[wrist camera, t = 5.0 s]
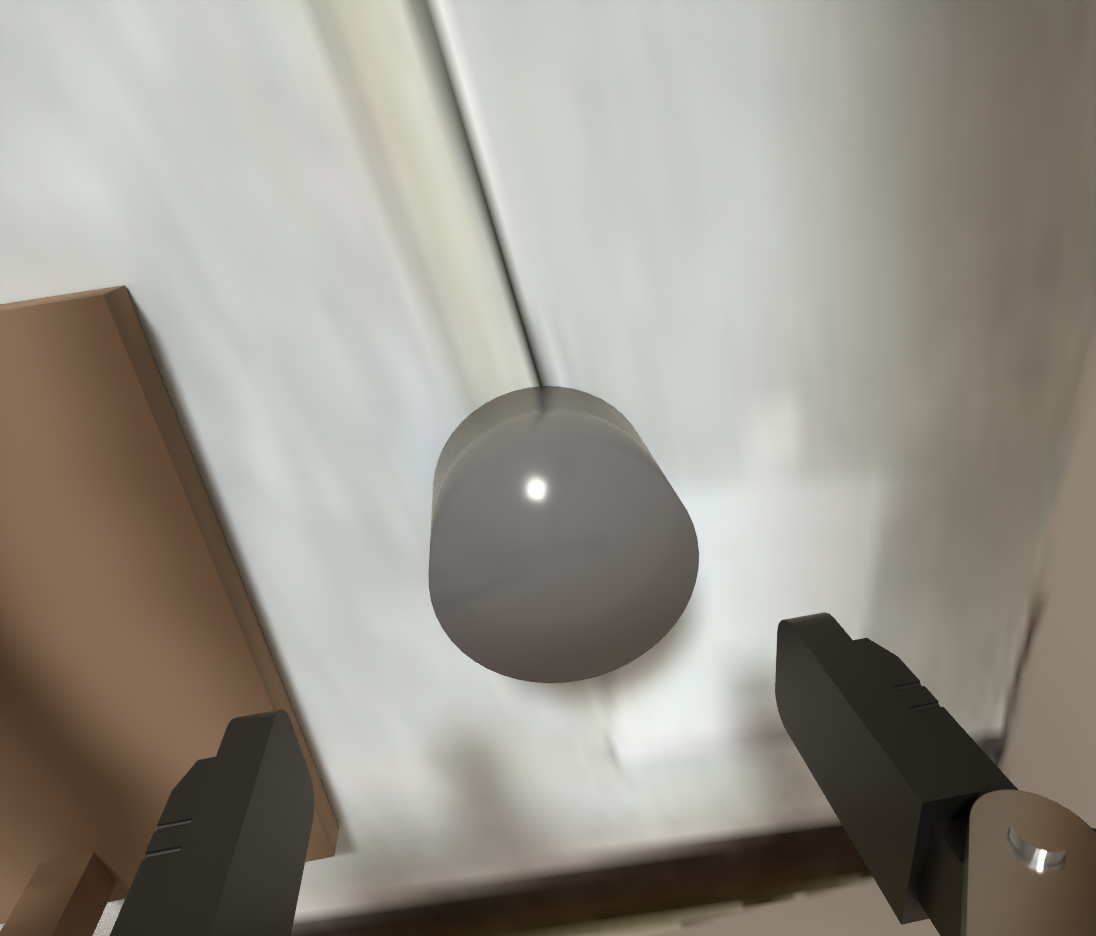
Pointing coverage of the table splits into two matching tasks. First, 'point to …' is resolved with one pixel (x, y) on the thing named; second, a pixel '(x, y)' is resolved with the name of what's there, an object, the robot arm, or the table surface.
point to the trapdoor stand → (107, 614)
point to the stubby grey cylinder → (556, 538)
